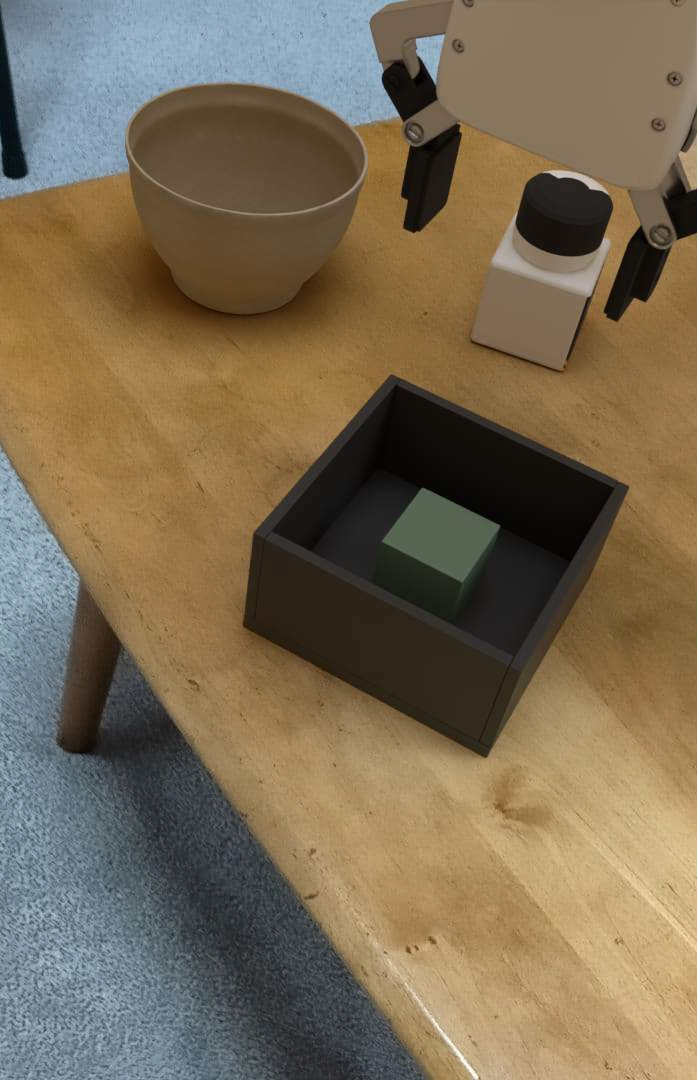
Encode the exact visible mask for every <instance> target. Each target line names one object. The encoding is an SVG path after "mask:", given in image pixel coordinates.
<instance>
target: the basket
mask: <svg viewBox="0 0 697 1080" xmlns="http://www.w3.org/2000/svg"><path fill="white" fill-rule="evenodd" d="M421 488H425V489H427V490H429V491H431V492H433V493H435V494H437V495H439V496H441V497H443V498H445V499H447V500H449V501H451V502H453V503H455V504H457V505H459V506H461V507H463V508H465V509H467V510H469V511H471V512H473V513H476V514H478V515H480V516H482V517H484V518H486V519H488V520H490V521H492V522H494V523H496V524H498V525H500V529H499V532H498V535H497V538H496V541H495V544H494V547H493V550H492V553H491V556H490V559H489V562H488V565H487V568H486V571H485V574H484V577H483V580H482V582H481V584H480V585H479V587H478V588H477V590H476V591H475V593H474V594H473V596H472V597H471V599H470V601H469V602H468V604H467V605H466V607H465V608H464V610H463V611H462V613H461V614H460V616H459V617H458V619H457V620H456V622H455V623H454V625H452V624H450V623H448V622H446V621H444V620H442V619H440V618H438V617H436V616H434V615H432V614H430V613H429V612H427V611H425V610H423V609H421V608H419V607H417V606H415V605H413V604H411V603H409V602H407V601H405V600H403V599H402V598H400V597H398V596H396V595H394V594H392V593H390V592H388V591H386V590H384V589H382V588H380V587H378V586H376V585H375V584H373V583H372V580H373V576H374V571H375V567H376V563H377V558H378V554H379V550H380V545H381V541H382V540H383V538H384V537H385V536H386V535H387V533H388V532H389V531H390V529H391V528H392V527H393V525H394V524H395V523H396V521H397V520H398V519H399V517H400V516H401V515H402V513H403V512H404V511H405V509H406V508H407V507H408V505H409V504H410V503H411V501H412V500H413V499H414V498H415V496H416V495H417V494H418V492H419V491H420V490H421ZM629 489H630V486H629V485H628V484H627V483H624V482H622V481H619V480H618V479H616V478H613V476H612V477H611V476H610V475H608V474H606V473H603V472H601V471H599V470H597V469H595V468H592V467H590V466H588V465H587V464H584V463H582V462H581V461H577V460H576V459H573V458H572V457H569V456H567V455H566V454H563V453H561V452H559V451H557V450H554V449H553V448H550V447H548V446H546V445H544V444H542V443H540V442H538V441H536V440H533V439H531V438H529V437H527V436H524V435H522V434H521V433H518V432H516V431H514V430H512V429H511V428H508V427H506V426H503V425H501V424H500V423H497V422H495V421H493V420H491V419H488V418H486V417H485V416H482V415H480V414H478V413H476V412H473V411H472V410H469V409H467V408H465V407H463V406H461V405H459V404H457V403H454V402H453V401H451V400H448V399H446V398H444V397H442V396H441V395H437V394H435V393H433V392H431V391H429V390H427V389H425V388H423V387H420V386H418V385H416V384H414V383H412V382H410V381H408V380H406V379H404V378H400V377H399V376H397V375H394V374H392V373H391V374H389V375H388V377H387V378H386V379H385V380H384V381H383V383H382V384H381V385H380V386H379V387H378V389H376V390H375V392H374V393H373V394H372V396H371V397H369V399H368V400H367V401H366V402H365V403H364V405H362V407H361V408H360V409H359V410H358V412H357V413H356V414H355V415H354V416H353V417H352V418H351V420H349V422H348V423H347V424H346V426H345V427H344V428H343V429H342V430H341V431H340V432H339V433H338V434H337V436H336V437H335V438H334V439H333V440H332V441H331V443H330V444H329V445H328V446H327V447H326V448H325V450H324V451H323V452H322V453H321V454H320V455H319V457H317V459H316V460H315V461H314V462H313V463H312V465H310V467H309V468H308V469H307V470H306V471H305V473H304V474H303V475H302V476H301V477H300V478H299V479H298V481H297V482H296V483H295V484H294V485H293V487H292V488H291V489H290V490H289V491H288V492H287V494H285V496H284V497H283V498H282V499H281V500H280V501H279V503H278V504H277V505H276V506H275V507H274V508H273V509H272V511H271V512H270V513H269V514H268V515H267V516H266V518H265V519H264V520H263V521H262V522H261V523H260V524H259V526H258V527H257V528H256V529H255V530H254V531H253V533H252V542H251V551H250V560H249V569H248V576H247V577H248V578H247V587H246V596H245V597H246V598H245V604H244V614H243V621H242V626H243V627H244V628H246V629H248V630H250V631H252V632H254V633H255V634H257V635H259V636H261V637H262V638H265V639H266V640H268V641H270V642H272V643H274V644H276V645H278V646H279V647H281V648H283V649H285V650H287V651H289V652H290V653H292V654H294V655H296V656H297V657H300V658H301V659H303V660H305V661H307V662H309V663H311V664H312V665H315V666H316V667H317V668H320V669H322V670H323V671H326V672H327V673H329V674H331V675H333V676H335V677H336V678H338V679H340V680H342V681H344V682H345V683H347V684H350V685H351V686H353V687H355V688H356V689H359V690H360V691H362V692H364V693H366V694H367V695H370V696H371V697H373V698H375V699H377V700H379V701H380V702H383V703H385V704H386V705H389V706H390V707H391V708H393V709H396V710H397V711H399V712H401V713H402V714H405V715H407V716H408V717H410V718H412V719H414V720H416V721H417V722H419V723H421V724H423V725H424V726H427V727H429V728H430V729H432V730H435V731H436V732H437V733H439V734H441V735H443V736H445V737H447V738H449V739H450V740H452V741H454V742H456V743H458V744H460V745H462V746H463V747H466V748H467V749H469V750H471V751H473V752H474V753H477V754H479V755H480V756H482V757H484V758H488V756H489V754H490V753H491V751H492V750H493V748H494V746H495V744H496V743H497V740H498V739H499V737H500V735H501V734H502V732H503V730H504V728H505V727H506V725H507V723H508V721H509V720H510V718H511V716H512V714H513V713H514V711H515V709H516V707H517V705H518V704H519V702H520V700H521V698H522V697H523V695H524V693H525V691H526V689H528V687H529V685H530V683H531V681H532V679H533V677H534V675H535V674H536V673H537V670H538V669H539V667H540V666H541V663H542V662H543V660H544V658H545V657H546V655H547V653H548V651H549V649H550V647H551V646H552V644H553V642H554V641H555V639H556V637H557V635H558V634H559V632H560V630H561V628H562V627H563V625H564V623H565V622H566V620H567V618H568V616H569V614H570V613H571V611H572V609H573V607H574V606H575V604H576V603H577V601H578V599H579V597H580V595H581V594H582V592H583V590H584V589H585V587H586V584H587V583H588V581H589V579H590V578H591V575H592V573H593V571H594V569H595V567H596V564H597V562H598V561H599V557H600V555H601V553H602V551H603V549H604V546H605V544H606V542H607V540H608V538H609V535H610V533H611V530H612V528H613V526H614V523H615V521H616V519H617V518H618V517H617V516H618V514H619V512H620V510H621V507H622V505H623V503H624V501H625V498H626V496H627V494H628V491H629Z"/></svg>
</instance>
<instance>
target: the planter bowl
mask: <svg viewBox="0 0 697 1080" xmlns="http://www.w3.org/2000/svg"><path fill="white" fill-rule="evenodd" d="M124 149H125V156H126V159H127V163H128V169H129V180H130V187H131V193H132V198H133V202H134V206H135V209H136V213H137V216H138V218H139V220H140V223H141V225H142V227H143V230H144V232H145V234H146V236H147V238H148V240H149V241H150V244H151V245H152V247H153V248H154V250H155V251H156V253H157V254H158V256H159V257H160V258H161V260H162V261H163V262H164V264H165V265H166V266H167V267H168V268H169V269H170V274H171V277H172V279H173V280H172V281H174V284H175V285H176V287H178V289H179V290H180V291H181V293H182V294H184V295H185V296H186V297H188V298H189V299H190V300H191V301H194V302H195V303H197V304H199V305H201V306H203V307H205V308H208V309H211V310H213V311H217V312H221V313H227V314H233V315H254V314H262V313H266V312H267V313H268V312H270V311H274V310H277V309H279V308H281V307H283V306H284V305H287V304H289V302H291V301H292V300H293V299H294V298H295V297H296V296H297V294H298V293H299V291H300V290H301V287H302V285H303V284H304V283H305V282H306V281H308V280H309V279H310V278H312V277H313V275H315V274H316V273H317V272H318V271H319V270H320V269H321V268H322V267H323V265H324V264H325V263H327V261H328V260H329V259H330V257H331V256H332V255H333V254H334V253H335V251H336V250H337V248H338V247H339V245H340V243H341V242H342V240H343V238H344V237H345V235H346V233H347V231H348V229H349V226H350V224H351V221H352V220H353V217H354V214H355V211H356V207H357V205H358V201H359V196H360V192H361V190H362V188H363V185H364V184H365V181H366V177H367V174H368V169H369V154H368V153H369V152H368V149H367V145H366V144H365V142H364V140H363V138H362V137H361V135H360V134H359V132H358V131H357V130H356V128H355V127H354V126H353V125H351V123H349V122H348V121H347V120H346V119H345V118H344V117H342V116H341V115H340V114H339V113H337V112H336V111H334V110H333V109H331V108H329V107H327V106H326V105H324V104H322V103H321V102H319V101H316V100H315V99H312V98H310V97H307V96H305V95H302V94H299V93H298V92H297V93H296V92H293V91H290V90H287V89H283V88H279V87H273V86H270V85H264V84H260V83H254V82H253V83H252V82H251V83H250V82H238V81H237V82H235V81H221V82H220V81H218V82H203V83H196V84H189V85H184V86H180V87H179V86H178V87H176V88H172V89H169V90H166V91H163V92H161V93H159V94H158V95H155V96H154V97H152V98H150V99H149V100H147V101H145V102H144V103H142V105H140V106H139V107H138V108H137V109H136V111H135V112H134V113H133V114H132V116H131V117H130V118H129V121H128V123H127V124H126V127H125V132H124Z"/></svg>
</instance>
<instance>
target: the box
mask: <svg viewBox="0 0 697 1080" xmlns="http://www.w3.org/2000/svg"><path fill="white" fill-rule="evenodd" d="M499 529H500V525H498V524H496V523H494V522H492V521H490V520H488V519H486V518H484V517H482V516H480V515H478V514H476V513H473V512H471V511H469V510H467V509H465V508H463V507H461V506H459V505H457V504H455V503H453V502H451V501H449V500H447V499H445V498H443V497H441V496H439V495H437V494H435V493H433V492H431V491H429V490H427V489H425V488H421V490H420V491H419V492H418V494H417V495H416V496H415V498H414V499H413V500H412V501H411V503H410V504H409V505H408V507H407V508H406V509H405V511H404V512H403V513H402V515H401V516H400V517H399V519H398V520H397V521H396V523H395V524H394V525H393V527H392V528H391V529H390V531H389V532H388V533H387V535H386V536H385V537H384V538H383V540H382V541H381V545H380V550H379V554H378V558H377V563H376V567H375V571H374V576H373V580H372V583H373V584H375V585H376V586H378V587H380V588H382V589H384V590H386V591H388V592H390V593H392V594H394V595H396V596H398V597H400V598H402V599H403V600H405V601H407V602H409V603H411V604H413V605H415V606H417V607H419V608H421V609H423V610H425V611H427V612H429V613H430V614H432V615H434V616H436V617H438V618H440V619H442V620H444V621H446V622H448V623H450V624H452V625H454V623H455V622H456V620H457V619H458V617H459V616H460V614H461V613H462V611H463V610H464V608H465V607H466V605H467V604H468V602H469V601H470V599H471V597H472V596H473V594H474V593H475V591H476V590H477V588H478V587H479V585H480V584H481V582H482V580H483V577H484V574H485V571H486V568H487V565H488V562H489V559H490V556H491V553H492V550H493V547H494V544H495V541H496V538H497V535H498V532H499Z"/></svg>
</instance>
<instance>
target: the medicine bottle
mask: <svg viewBox="0 0 697 1080" xmlns="http://www.w3.org/2000/svg"><path fill="white" fill-rule="evenodd" d="M521 195H522V196H521V199H520V202H519V206H518V210H517V211H515V213H514V214H513V216H512V218H511V220H510V222H509V224H508V226H507V228H506V230H505V232H504V234H503V236H502V238H501V240H500V242H499V244H498V246H497V248H496V250H495V251H494V254H493V256H492V258H491V259H490V262H489V266H488V269H487V273H486V277H485V281H484V285H483V289H482V292H481V296H480V300H479V303H478V307H477V311H476V315H475V319H474V321H473V326H472V330H471V334H470V340H471V341H472V342H474V343H477V344H479V345H482V346H486V347H488V348H491V349H494V350H497V351H500V352H503V353H506V354H509V355H512V356H515V357H517V358H521V359H523V360H527V361H529V362H532V363H535V364H537V365H541V366H544V367H547V368H550V369H553V370H556V371H560V372H563V371H565V369H566V368H567V365H568V363H569V361H570V359H571V356H572V353H573V351H574V349H575V346H576V343H577V341H578V338H579V336H580V332H581V331H582V327H583V325H584V323H585V320H586V318H587V315H588V312H589V308H590V306H591V303H592V300H593V298H594V295H595V292H596V289H597V286H598V283H599V280H600V277H601V274H602V271H603V268H604V266H605V263H606V260H607V257H608V254H609V252H610V249H611V245H612V244H611V243H612V241H611V240H610V239H609V238H607V237H605V234H606V232H607V229H608V226H609V224H610V223H609V222H610V220H611V217H612V215H613V211H614V202H613V200H612V197H611V196H610V194H609V192H608V191H607V190H606V188H605V187H604V186H603V185H602V184H600V183H599V182H598V181H596V180H595V179H594V178H592V177H589V176H587V175H585V174H582V173H580V172H575V171H569V170H563V169H554V170H553V169H551V170H545V171H542V172H539V173H537V174H536V175H533V176H532V177H531V178H529V179H528V180H527V181H526V183H525V185H524V188H523V191H522V194H521Z"/></svg>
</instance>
